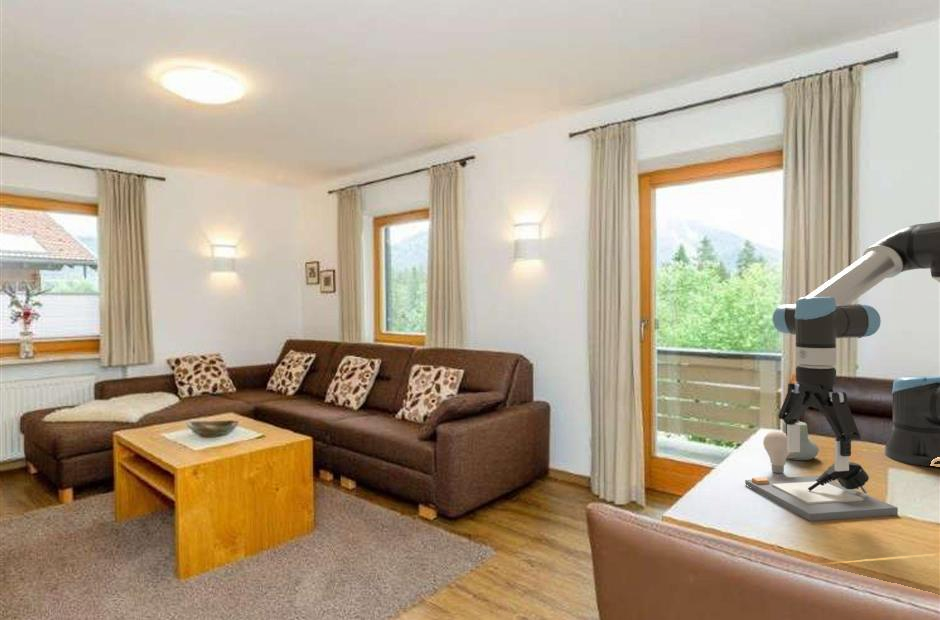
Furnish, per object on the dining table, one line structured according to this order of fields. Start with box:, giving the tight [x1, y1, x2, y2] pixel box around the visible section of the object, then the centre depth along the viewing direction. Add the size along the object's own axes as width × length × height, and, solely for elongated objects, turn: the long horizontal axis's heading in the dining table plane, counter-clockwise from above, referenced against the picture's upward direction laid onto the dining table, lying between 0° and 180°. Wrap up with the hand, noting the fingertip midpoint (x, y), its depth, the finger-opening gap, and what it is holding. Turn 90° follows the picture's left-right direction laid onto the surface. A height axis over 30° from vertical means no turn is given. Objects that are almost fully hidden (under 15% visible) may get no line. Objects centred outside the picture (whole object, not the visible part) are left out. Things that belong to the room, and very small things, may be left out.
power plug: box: [808, 461, 870, 494], centre depth 115 cm, size 6×8×12 cm
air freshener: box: [782, 421, 820, 461], centre depth 146 cm, size 11×8×10 cm
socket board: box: [744, 474, 899, 522], centre depth 116 cm, size 20×20×2 cm
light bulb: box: [762, 430, 790, 474], centre depth 133 cm, size 7×7×11 cm
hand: (816, 460), depth 116 cm, fingers open, 13 cm apart
